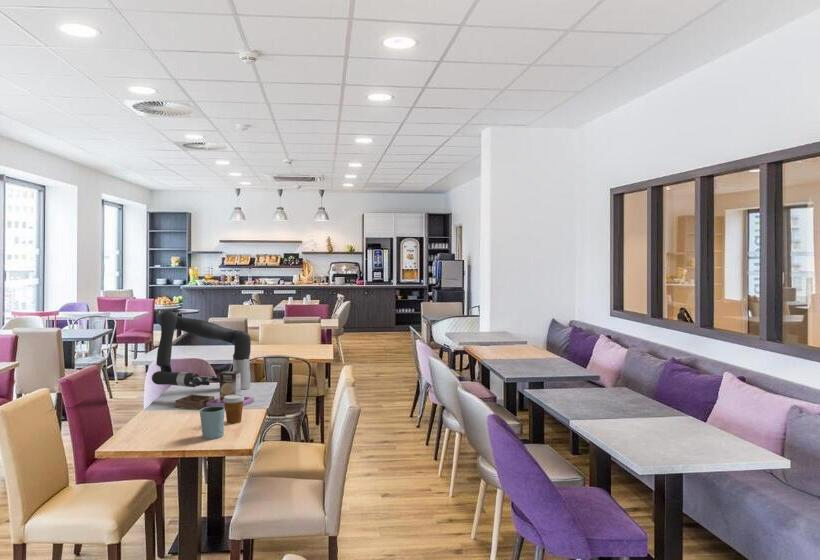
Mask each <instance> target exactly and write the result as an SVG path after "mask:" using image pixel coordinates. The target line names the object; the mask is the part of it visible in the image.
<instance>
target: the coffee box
mask: <svg viewBox="0 0 820 560" xmlns="http://www.w3.org/2000/svg"><path fill="white" fill-rule="evenodd" d="M241 391H242V390H241V372H240V371H233V370H223V371H221V372H220V373H219V398H220V403H223V404H224V401H223V399H224V396H227V395H232V394H240V395H242V393H241Z"/></svg>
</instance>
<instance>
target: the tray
mask: <svg viewBox="0 0 820 560" xmlns="http://www.w3.org/2000/svg"><path fill="white" fill-rule="evenodd" d="M243 397H244V401H243V406H244V405H246V406H248V405H250V404H253V403H254V402H255V400H254V399H255V397H254V396H244V395H243ZM252 402H253V403H252ZM247 404H248V405H247ZM209 406H222V407H224V408H225V404H223V403H220V397H217V398H214V400H212V401H209V402H207V403H206V407H209ZM244 407H245V406H244Z"/></svg>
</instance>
